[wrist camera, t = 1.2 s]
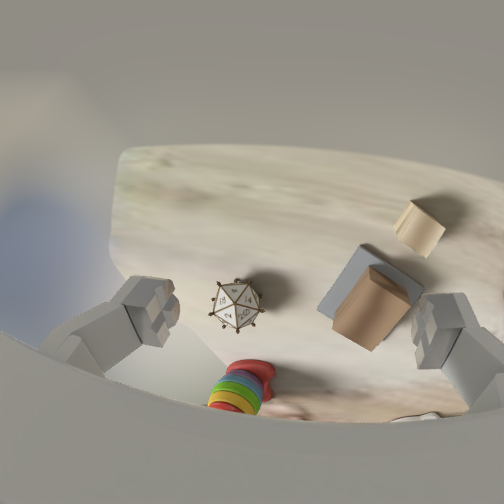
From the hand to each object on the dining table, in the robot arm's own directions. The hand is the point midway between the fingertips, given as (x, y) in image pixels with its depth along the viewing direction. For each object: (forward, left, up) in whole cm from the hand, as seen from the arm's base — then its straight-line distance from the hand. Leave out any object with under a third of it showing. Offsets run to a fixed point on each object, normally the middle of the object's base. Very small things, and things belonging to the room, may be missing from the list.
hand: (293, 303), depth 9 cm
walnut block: (-13, +12, -32) cm, 36 cm away
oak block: (-12, -1, -33) cm, 35 cm away
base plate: (-13, +12, -33) cm, 37 cm away
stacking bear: (-5, +40, -33) cm, 52 cm away
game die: (+4, +23, -33) cm, 41 cm away
